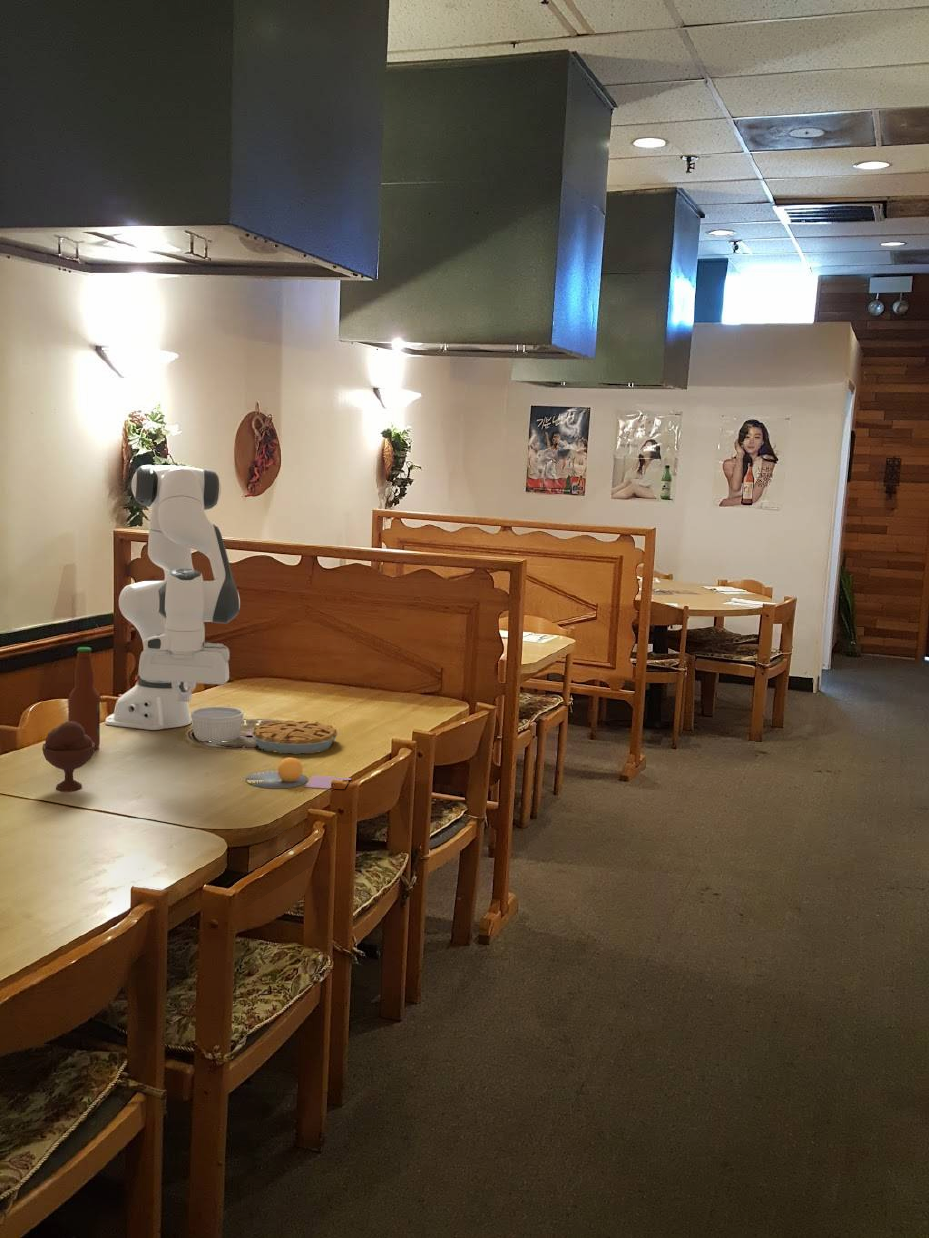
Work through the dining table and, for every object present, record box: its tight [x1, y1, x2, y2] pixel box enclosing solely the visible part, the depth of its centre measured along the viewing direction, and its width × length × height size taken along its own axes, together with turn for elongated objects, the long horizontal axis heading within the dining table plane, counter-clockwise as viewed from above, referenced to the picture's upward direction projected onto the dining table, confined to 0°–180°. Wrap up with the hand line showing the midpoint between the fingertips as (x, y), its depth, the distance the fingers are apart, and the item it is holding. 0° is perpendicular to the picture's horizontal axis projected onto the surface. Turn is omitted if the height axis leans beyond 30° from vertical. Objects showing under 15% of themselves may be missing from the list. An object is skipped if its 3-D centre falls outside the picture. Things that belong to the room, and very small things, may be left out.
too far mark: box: [304, 775, 352, 790], centre depth 253 cm, size 9×9×1 cm
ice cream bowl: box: [41, 721, 95, 792], centre depth 239 cm, size 11×11×15 cm
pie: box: [251, 720, 338, 755], centre depth 285 cm, size 22×22×5 cm
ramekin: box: [190, 706, 244, 743], centre depth 288 cm, size 13×13×7 cm
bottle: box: [67, 646, 101, 750], centre depth 271 cm, size 7×7×25 cm
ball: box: [277, 757, 303, 782], centre depth 252 cm, size 6×6×6 cm
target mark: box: [245, 769, 309, 790], centre depth 254 cm, size 14×14×1 cm
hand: (183, 700), depth 253 cm, fingers closed
